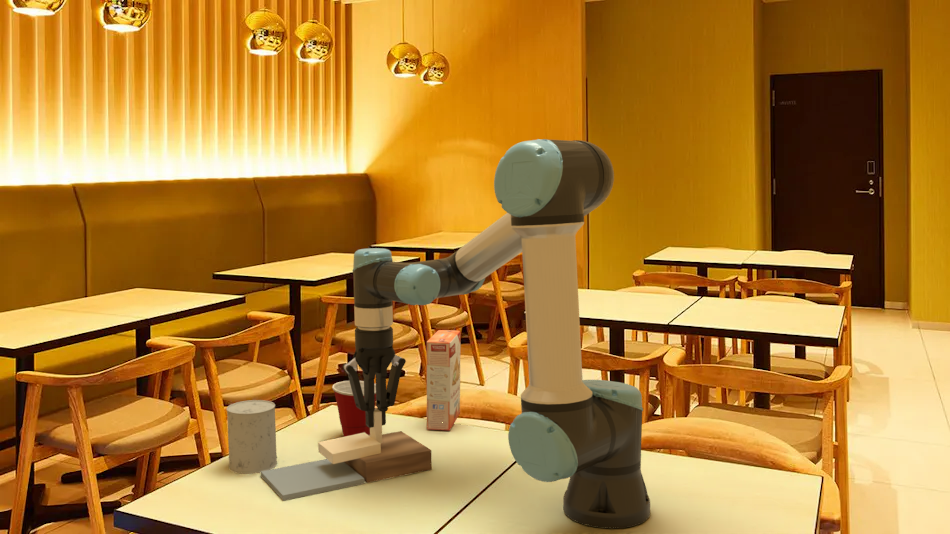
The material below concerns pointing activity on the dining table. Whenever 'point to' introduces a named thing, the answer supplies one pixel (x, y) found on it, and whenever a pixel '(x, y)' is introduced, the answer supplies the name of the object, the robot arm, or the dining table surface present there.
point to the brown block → (393, 458)
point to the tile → (349, 448)
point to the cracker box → (443, 379)
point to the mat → (310, 478)
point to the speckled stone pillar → (251, 436)
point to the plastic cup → (350, 409)
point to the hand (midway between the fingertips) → (376, 441)
